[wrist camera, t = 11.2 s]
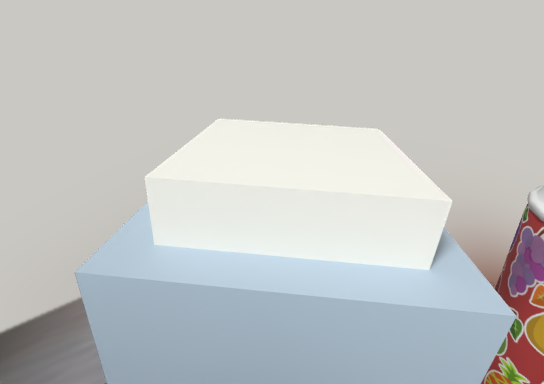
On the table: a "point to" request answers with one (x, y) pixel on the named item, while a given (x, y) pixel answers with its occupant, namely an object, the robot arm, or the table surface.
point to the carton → (290, 268)
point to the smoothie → (523, 301)
